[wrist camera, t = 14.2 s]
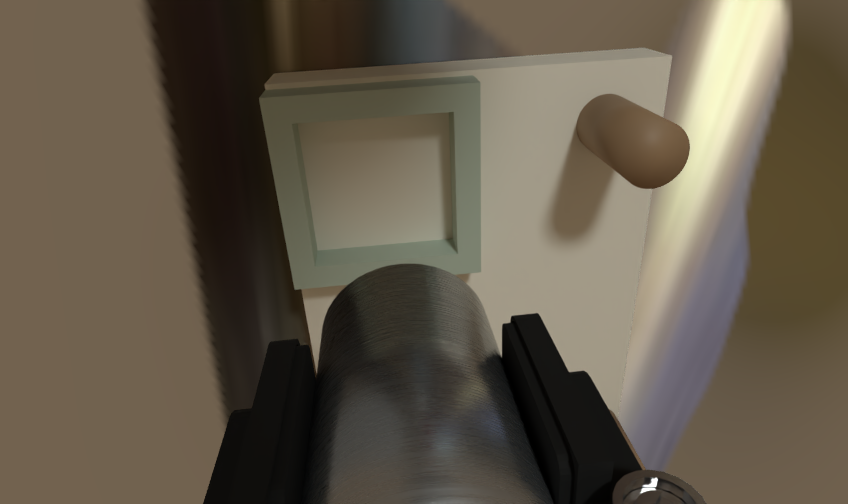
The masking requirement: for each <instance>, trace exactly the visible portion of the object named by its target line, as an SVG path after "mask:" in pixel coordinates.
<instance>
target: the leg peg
mask: <svg viewBox="0 0 848 504" xmlns="http://www.w3.org/2000/svg"><path fill="white" fill-rule="evenodd" d="M301 504H554V502H553V499H552V496H551V494H550V491H549V488H548V485H547V483H546V480H545V477H544V474H543V471H542V469H541V466H540V463H539V460H538V457H537V455H536V452H535V449H534V446H533V443H532V441H531V438H530V435H529V432H528V429H527V427H526V424H525V421H524V418H523V415H522V413H521V410H520V407H519V404H518V402H517V399H516V396H515V393H514V390H513V388H512V385H511V382H510V379H509V376H508V374H507V371H506V368H505V365H504V362H503V360H502V357H501V354H500V351H499V348H498V345H497V343H496V340H495V337H494V334H493V331H492V329H491V326H490V323H489V320H488V318H487V315H486V312H485V309H484V307H483V305H482V302H481V301H480V299H479V297H478V296H477V294H476V293H475V292H474V291H473V290H472V288H471V287H470V286H468V285H467V284H466V283H465V282H464V281H463V280H461V279H460V278H458V277H457V276H455V275H453V274H451V273H449V272H447V271H445V270H443V269H440V268H437V267H433V266H429V265H424V264H413V263H411V264H396V265H389V266H385V267H381V268H378V269H375V270H373V271H370V272H367V273H365V274H364V275H362V276H360V277H358V278H356V279H355V280H354V281H352V282H351V283H349V284H348V285H347V286H346V287H345V288H344V289H343V290H342V291H341V292H340V293H339V294H338V295H337V296H336V298H335V299H334V300H333V302H332V303H331V305H330V307H329V308H328V311H327V313H326V315H325V318H324V322H323V326H322V334H321V343H320V351H319V359H318V367H317V376H316V384H315V392H314V401H313V409H312V417H311V426H310V434H309V442H308V450H307V459H306V467H305V475H304V484H303V492H302V500H301Z"/></svg>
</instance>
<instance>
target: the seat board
mask: <svg viewBox="0 0 848 504" xmlns="http://www.w3.org/2000/svg"><path fill="white" fill-rule="evenodd" d="M671 61H672V56H671V55H667V54H664V53H660V52H657V51H654V50H650V49H647V48H633V49H619V50H605V51H590V52H577V53H561V54H546V55H532V56H517V57H503V58H489V59H474V60H460V61H445V62H431V63H416V64H402V65H387V66H373V67H358V68H344V69H329V70H315V71H300V72H286V73H274V74H273V75H272V76H271V77H270V79H269V80H268V81H267V82H266V83H265V84H264V85H265V91H264V92H263V94H262V95H261V96H260V97H259V102H260V107H261V113H262V118H263V123H264V129H265V134H266V139H267V145H268V150H269V155H270V161H271V166H272V172H273V177H274V182H275V188H276V193H277V198H278V204H279V209H280V214H281V220H282V225H283V230H284V236H285V241H286V246H287V252H288V257H289V262H290V268H291V273H292V278H293V284H294V289H295V290H297V289H301V290H302V296H303V301H304V307H305V312H306V318H307V323H308V329H309V334H310V340H311V345H312V351H313V357H314V362H315V368H316V373H317V367H318V359H319V351H320V343H321V334H322V326H323V322H324V318H325V315H326V313H327V311H328V308H329V307H330V305H331V303H332V302H333V300H334V299H335V298H336V296H337V295H338V294H339V293H340V292H341V291H342V290H343V289H344V288H345V287H346V286H347V285H348V284H349V283H351V282H352V281H354V280H355V279H356V278H358V277H360V276H362V275H364V274H365V273H367V272H370V271H373V270H375V269H378V268H381V267H385V266H389V265H396V264H411V263H413V264H424V265H429V266H433V267H437V268H440V269H443V270H445V271H447V272H449V273H451V274H453V275H455V276H457V277H458V278H460V279H461V280H463V281H464V282H465V283H466V284H467V285H468V286H470V287H471V288H472V290H473V291H474V292H475V293H476V294H477V296H478V297H479V299H480V301H481V302H482V305H483V307H484V309H485V312H486V315H487V318H488V320H489V323H490V326H491V329H492V331H493V334H494V337H495V340H496V343H497V345H498V348H499V351H500V354H501V357H502V325H503V324H504V323H510V320H511V317H512V316H514V315H524V314H533V313H538V314H539V315H540V317H541V319H542V321H543V322H544V324H545V326H546V328H547V330H548V332H549V334H550V336H551V338H552V340H553V342H554V344H555V346H556V348H557V350H558V352H559V354H560V356H561V357H562V359H563V361H564V363H565V365H566V367H567V369H568V371H569V372H575V371H585V372H587V373H588V374H589V376H590V377H591V379H592V380H593V382H594V384H595V386H596V388H597V389H598V391H599V393H600V395H601V397H602V398H603V400H604V402H605V404H606V405H607V407H608V409H609V411H610V413H611V414H612V416H613V418H614V420H615V421H616V423H617V425H618V427H619V429H620V430H621V432H622V434H623V436H624V438H625V439H626V441H627V443H628V445H629V446H630V448H631V450H632V452H633V454H634V455H635V457H636V459H637V461H638V462H639V464H640V466H641V468H642V470H646V469H645V467H644V465H643V464H642V462H641V460H640V458H639V457H638V455H637V453H636V451H635V449H634V448H633V446H632V444H631V442H630V441H629V439H628V437H627V435H626V433H625V432H624V430H623V428H622V426H621V425H620V423H619V421H618V415H619V409H620V402H621V395H622V389H623V382H624V375H625V369H626V362H627V355H628V348H629V342H630V335H631V328H632V322H633V315H634V308H635V302H636V295H637V288H638V282H639V275H640V268H641V262H642V255H643V248H644V242H645V235H646V228H647V222H648V215H649V208H650V202H651V195H652V189H653V188H657V187H661V186H663V185H665V184H667V183H669V182H670V181H672V180H673V179H674V178H675V177H676V176H677V175H678V174H679V173H680V172H681V171H682V169H683V168H684V166H685V164H686V162H687V159H688V156H689V150H690V144H689V139H688V136H687V134H686V133H685V131H684V130H683V129H682V128H681V127H680V126H678V125H677V124H675V123H673V122H671V121H669V120H667V119H665V118H663V115H664V108H665V101H666V95H667V88H668V81H669V75H670V68H671Z"/></svg>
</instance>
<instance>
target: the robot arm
mask: <svg viewBox="0 0 848 504" xmlns="http://www.w3.org/2000/svg"><path fill="white" fill-rule="evenodd" d="M502 360H503V362H504V365H505V368H506V371H507V374H508V376H509V379H510V382H511V385H512V388H513V390H514V393H515V396H516V399H517V402H518V404H519V407H520V410H521V413H522V415H523V418H524V421H525V424H526V427H527V429H528V432H529V435H530V438H531V441H532V443H533V446H534V449H535V452H536V455H537V457H538V460H539V463H540V466H541V469H542V471H543V474H544V477H545V480H546V483H547V485H548V488H549V491H550V494H551V496H552V499H553V502H554V504H706V502H705V501H704V499H703V497H702V496H701V495H700V494H699V493H698V492H697V491H696V490H695V489H694V488H693V487H692V486H691V485H689V484H688V483H686V482H685V481H683V480H681V479H680V478H678V477H676V476H673V475H670V474H668V473H665V472H662V471H655V470H642V468H641V466H640V464H639V462H638V461H637V459H636V457H635V455H634V454H633V452H632V450H631V448H630V446H629V445H628V443H627V441H626V439H625V438H624V436H623V434H622V432H621V430H620V429H619V427H618V425H617V423H616V421H615V420H614V418H613V416H612V414H611V413H610V411H609V409H608V407H607V405H606V404H605V402H604V400H603V398H602V397H601V395H600V393H599V391H598V389H597V388H596V386H595V384H594V382H593V380H592V379H591V377H590V376H589V374H588V373H587V372H585V371H575V372H569V371H568V369H567V367H566V365H565V363H564V361H563V359H562V357H561V356H560V354H559V352H558V350H557V348H556V346H555V344H554V342H553V340H552V338H551V336H550V334H549V332H548V330H547V328H546V326H545V324H544V322H543V321H542V319H541V317H540V315H539V314H538V313H533V314H524V315H514V316H512V317H511V320H510V323H504V324H503V325H502ZM315 384H316V378H315V373H314V368H313V363H312V358H311V352H310V348H309V345H301V346H300V343H299V341H298V339H292V340H282V341H273V342H270V343H269V346H268V349H267V353H266V357H265V361H264V365H263V369H262V372H261V376H260V380H259V384H258V388H257V392H256V396H255V399H254V403H253V407H252V409H243V410H234V411H233V412H232V413H231V416H230V418H229V421H228V424H227V428H226V431H225V434H224V438H223V441H222V444H221V447H220V451H219V454H218V457H217V460H216V464H215V467H214V470H213V473H212V477H211V480H210V484H209V486H208V490H207V493H206V496H205V499H204V503H203V504H301V500H302V492H303V484H304V475H305V467H306V459H307V450H308V442H309V434H310V426H311V417H312V409H313V401H314V392H315Z"/></svg>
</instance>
